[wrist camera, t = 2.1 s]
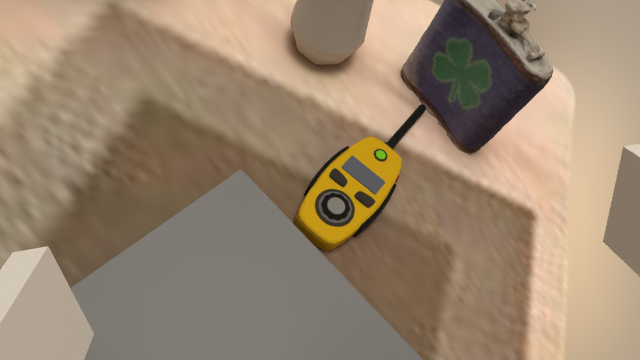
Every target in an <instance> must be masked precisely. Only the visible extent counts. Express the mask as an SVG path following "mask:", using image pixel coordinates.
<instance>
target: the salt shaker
mask: <svg viewBox="0 0 640 360" xmlns="http://www.w3.org/2000/svg"><path fill="white" fill-rule="evenodd" d="M372 4H373V0H297V2H296V4H295V6H294V9H293V12H292V16H291V24H292V28H293V31H294V35H295V40H296V45H297V50H298V51H299V52H300V53H301V54H302V55H304V56H305V57H306V58H308V59H309V60H310V61H311V62H313V63H314V64H315V65H337V64H339V63H340V62H342V61H343V60H344V59H346V58H347V57H349V56H350V55H352V54H353V53H354V52H355V51H356V50H357V49H358V48H359V47H360V46H361V45H362V43H363V42H364V38H365V34H366V30H367V25H368V21H369V17H370V13H371V9H372Z"/></svg>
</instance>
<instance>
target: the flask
mask: <svg viewBox="0 0 640 360" xmlns="http://www.w3.org/2000/svg"><path fill="white" fill-rule="evenodd" d="M522 1H525V0H522ZM522 1H521V0H518V1H514V2H511V1H510V0H508V1H507V2H506V4H505V8H506V10H507V11H506V10H505V9H504V8H503V7H502V6H501V5H500V4H498V3H497V2H496V1H495V0H444V2H443V4H442V5H441V7H440V9H439V10H438V12H437V14H436V15H435V17H434V19H433V20H432V22H431V24H430V26H429V27H428V28H427V30H426V31H425V33H424V34H423V36H422V37H421V39H420V41H419V43H418V44H417V46H416V47H415V49H414V50H413V52H412V53H411V55H410V56H409V58H408V59H407V61H406V62H405V63H404V65H403V68H402V71H401V73H402V76H403V78H404V81H405V83H406V85H407V86H408V88H409V89H410V90H411V89H413V91H414V92H415V94H416V95H417V96H418V97H419V99H420V100H421V103H422V104H423V105H425V106H426V109H427V110H428V112H429V113H431V114H432V115H434V116H435V117H437V118H438V120H439V123H438V124H440V125H441V126H442V127H444V128H445V129H446V131H447V134H448V136H449V137H450V138H451V139H452V141H453V142H454V143H455V145H456V147H457V148H458V149H460V150H461V151H465V152H466V153H468V154H470V155H471V153H473V152H475V151H478V150H479V149H480V148H481V147H482V146H484V145H485V144H486V143H487V142H488V141H489V140H490V139H492V138H493V137H494V136H495V135H496V134H497V133H498V132H499V131H500V130H501V129H502V127H503V126H504V125H506V124H507V123H508V122H509V121H510V120H511V119H512V118H513V117H514V116H515V115H516V114H517V113H518V112H519V111H520V110H521V109H522V108H523V107H524V106H525V105H526V104H527V103H528V102H529V101H530V100H531V99H532V98H533V97H534V96H535V95H536V94H537V93H538V92H539V91H541V90H542V89H543V88H544V87H545V85H546V84H547V83H548V82H549V79H550V78H551V77H552V73H553V68H552V64H551V63H550V62H549V60H548V59H547V57H546V56H545V52H544V50H543V49H542V48H541V47H540V46H539V45H538V44H537V43H535V41H534V40H533V39H532V38H531V37H530V36H529V35H528V32H529V31H530V26H529V22H528V21H527V20H526V19H525V18H524V15H525V14H528V12H529V11H531V10H530V8H528V7H527V6H526V5H525V4H524V3H523V2H522ZM527 4H528V5H529V6H530V7H532V9H533V10H536V8H537V7H536V5H535V4H534V2H532V1H530V0H528V3H527Z"/></svg>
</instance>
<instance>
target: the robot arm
mask: <svg viewBox="0 0 640 360" xmlns="http://www.w3.org/2000/svg"><path fill="white" fill-rule="evenodd" d="M603 242H604V243H605V244H606V245H607V246H608V247H609V248H610V249H611V250H612V251H613V252H614V253H615V254H617V255H618V256H619V257H620V258H621V259H622V260H623V261H624V262H625V263H626V264H627V265H628V266H629V267H630V268H631V269H632V270H633V271H634V272H635V273H637V274H638V275H639V276H640V144H636V145H630V146H625V147H623V151H622V156H621V161H620V165H619V170H618V174H617V179H616V184H615V188H614V193H613V198H612V202H611V207H610V212H609V217H608V221H607V226H606V231H605V235H604V240H603ZM93 335H94V332H93V331H92V329H91V327H90V325H89V323H88V321H87V319H86V317H85V315H84V313H83V312H82V310H81V308H80V306H79V304H78V302H77V300H76V298H75V296H74V294H73V293H72V291H71V289H70V287H69V285H68V283H67V281H66V279H65V277H64V276H63V274H62V272H61V270H60V268H59V266H58V264H57V262H56V260H55V258H54V257H53V255H52V253H51V251H50V249H49V247H48V246H47V247H41V248H36V249H30V250H24V251H18V252H13V253H12V254H11V256H10V257H9V259H8V260H7V261H6V263H5V264H4V266H3V267H2V268H1V270H0V360H84V359H85V356H86V354H87V351H88V348H89V346H90V343H91V341H92V338H93Z"/></svg>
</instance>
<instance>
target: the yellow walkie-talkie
mask: <svg viewBox="0 0 640 360" xmlns="http://www.w3.org/2000/svg"><path fill="white" fill-rule="evenodd" d="M425 110H426V106H425V105H423V104H422V105H420V106H419V107H418V108H417V109H416V110H415V111H414V113H413V114H412V115H411V116H410V117H409V118H408V119H407V121H406V122H405V123H404V124H403V125H402V126H401V127H400V129H399V130H398V131H397V132H396V133H395V134H394V135H393V136H392V138H391V139H390V140H389V141H388V142H387V143H385V142H382V141H381V140H379V139H377V138H375V137H367V138H365V139H363V140H361V141H359V142H357V143H356V144H354V145H353V146H351V147H350V148H349V146H347V147H345V148H344V149H342V150H341V151H339V152H338V153H337V154H335V155H334V156H333V157H332V158H331V159H330V160H329V161H328V162H326V163H325V165H324V166H323V167H322V168H321V169H320V171H319V172H318V173H317V174H316V176H315V177H314V178H313V180H312V181H311V183H310V185H309V186H308V188H307V190H306V192H305V194H304V196H306V197H305V198H304V200H303V202H302V204H301V206H300V208H299V210H298V212H297V215H296V217H295V225H296V227H297V228H298V229H299V230H300V231H301V232H302V233H303V234H304V235H305V237H306V238H307V239H308V240H309V241H311V242H312V243H313V244H314V245H316V246H318V247H319V248H321V249H323V250H326V251H329V250H332V249H334V248H336V247H338V246H339V245H341V244H342V243H344V242H345V241H346V240H348V239H349V238H350V237H351V236H353V235H354V234H355V233H356V232H357V231H358V230H359V231H358V232H357V233H356V234H355V235H354V237H356V236H357V235H358V234H359V233H361V232H362V231H363V230H364V229H365V228H367V227H368V225H369V224H370V223H371V222H372V221H373V220H374V219H375V218H376V217H377V216H378V215H379V214H380V212H381V211H382V210H383V208H384V207H385V205H386V204H387V202H388V201H389V199H390V197H391V195H392V193H393V191H394V189H395V187H396V184H394V183H395V182H397V180H398V178H399V171H400V169H401V165H402V160H401V158H400V156H399V155H398V154H397V153H396V152H395V151H394V149H393V147H394V146H395V145H396V144H397V143H398V141H399V140H400V139H401V138H402V137H403V136H404V134H405V133H406V132H407V131H408V130H409V129H410V128H411V126H412V125H413V124H414V123H415V122H416V121H417V119H418V118H419V117H420V116H421V115H422V114H423V112H424V111H425ZM306 194H307V195H306Z"/></svg>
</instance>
